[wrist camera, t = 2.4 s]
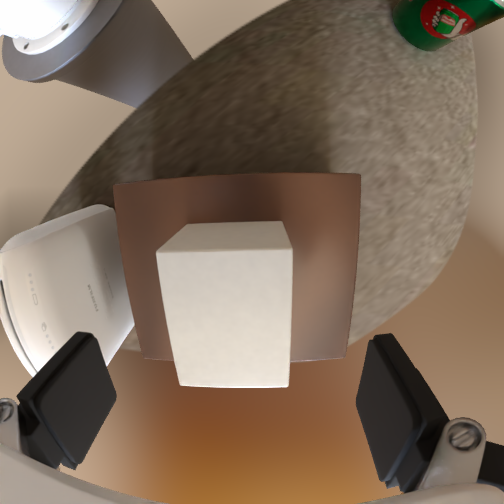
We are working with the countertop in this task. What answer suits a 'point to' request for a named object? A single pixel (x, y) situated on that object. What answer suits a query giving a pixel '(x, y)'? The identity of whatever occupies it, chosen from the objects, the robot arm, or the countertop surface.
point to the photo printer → (64, 286)
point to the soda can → (443, 20)
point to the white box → (229, 303)
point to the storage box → (250, 210)
